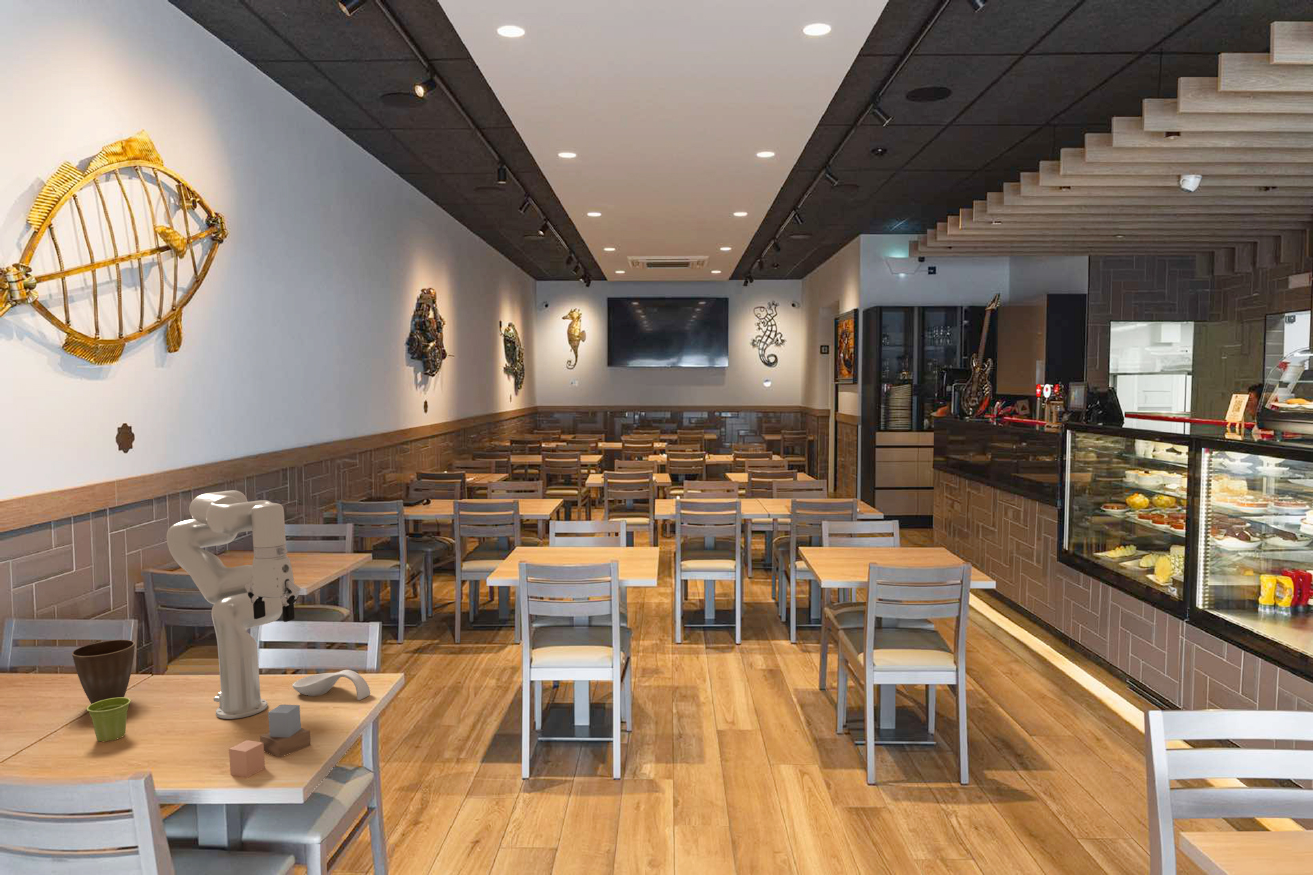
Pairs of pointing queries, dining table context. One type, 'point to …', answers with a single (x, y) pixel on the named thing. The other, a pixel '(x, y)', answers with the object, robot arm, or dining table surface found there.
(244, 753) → the terracotta block
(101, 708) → the plant pot
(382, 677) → the dining table surface
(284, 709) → the slate block
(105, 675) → the plant pot
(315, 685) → the spoon rest
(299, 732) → the walnut base
